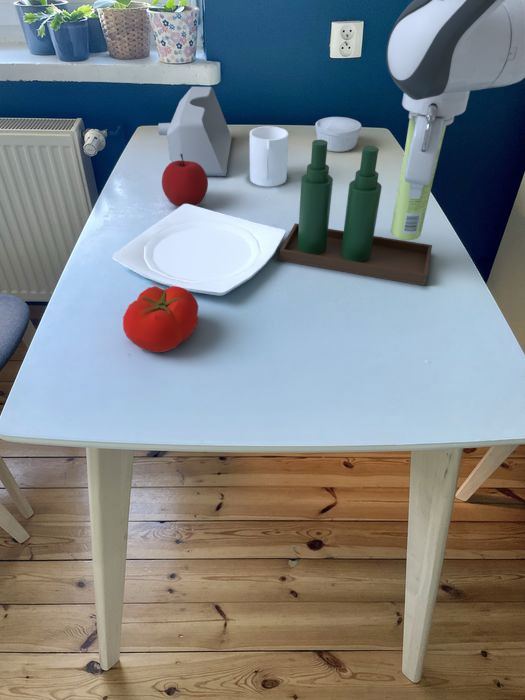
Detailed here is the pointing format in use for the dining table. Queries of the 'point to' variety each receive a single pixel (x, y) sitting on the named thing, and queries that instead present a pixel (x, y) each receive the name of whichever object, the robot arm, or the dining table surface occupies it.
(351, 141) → the ramekin
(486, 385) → the dining table surface
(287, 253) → the tray
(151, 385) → the dining table surface
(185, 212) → the plate
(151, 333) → the tomato
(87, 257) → the dining table surface
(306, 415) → the dining table surface
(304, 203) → the bottle
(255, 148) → the cup
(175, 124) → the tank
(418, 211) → the tube
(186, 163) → the apple
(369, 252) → the bottle
